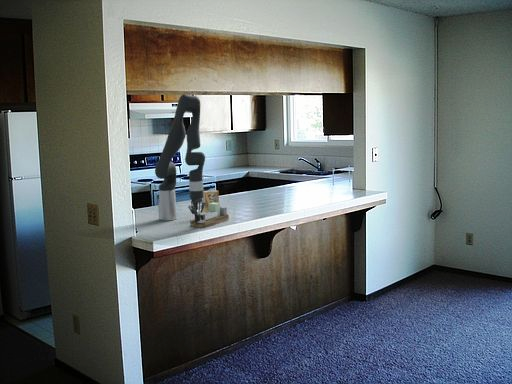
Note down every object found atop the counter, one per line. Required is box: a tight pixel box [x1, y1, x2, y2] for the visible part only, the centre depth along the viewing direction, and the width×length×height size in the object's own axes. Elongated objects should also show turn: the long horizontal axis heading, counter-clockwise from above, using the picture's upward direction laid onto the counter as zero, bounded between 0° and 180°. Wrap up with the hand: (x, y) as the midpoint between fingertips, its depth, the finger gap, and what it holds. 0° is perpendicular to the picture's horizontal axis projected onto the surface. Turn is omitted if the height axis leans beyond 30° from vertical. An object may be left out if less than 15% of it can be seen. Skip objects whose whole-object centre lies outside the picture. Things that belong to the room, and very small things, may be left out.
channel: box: [189, 206, 230, 228], centre depth 335 cm, size 10×24×7 cm, turn 151°
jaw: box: [196, 211, 217, 224], centre depth 333 cm, size 6×12×5 cm, turn 151°
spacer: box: [209, 202, 221, 217], centre depth 339 cm, size 4×4×9 cm
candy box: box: [202, 189, 220, 212], centre depth 353 cm, size 9×4×15 cm, turn 120°
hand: (197, 221), depth 325 cm, fingers closed
